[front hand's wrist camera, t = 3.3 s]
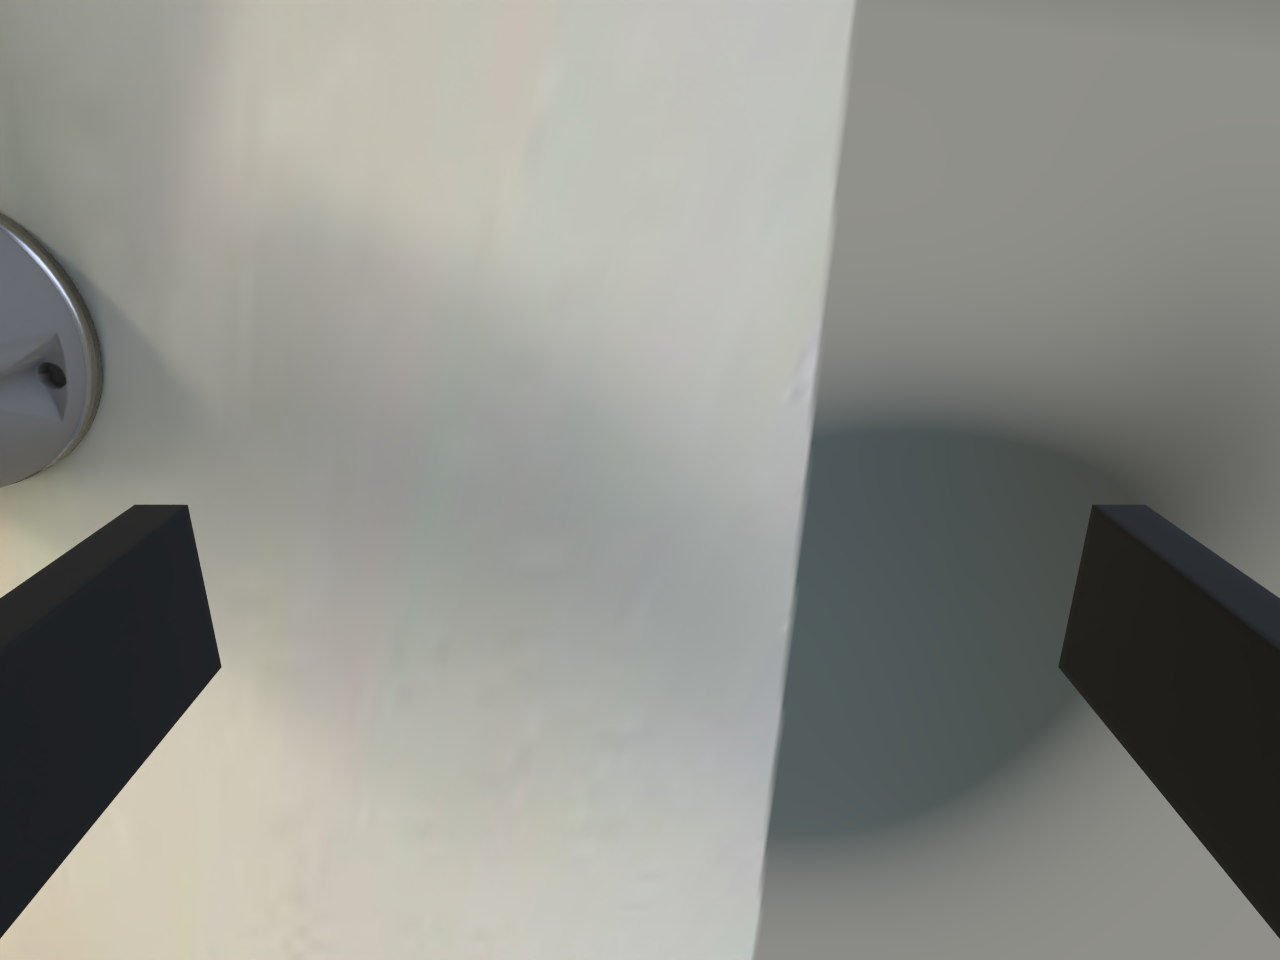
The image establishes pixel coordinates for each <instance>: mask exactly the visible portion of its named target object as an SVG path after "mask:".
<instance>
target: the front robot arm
mask: <svg viewBox="0 0 1280 960" xmlns="http://www.w3.org/2000/svg"><path fill="white" fill-rule="evenodd" d="M101 389H102V358H101V351H100V346H99V341H98V337H97V334H96V330H95V327H94V324H93V321H92V319H91V316H90V314H89V311H88V309H87V307H86V305H85V303H84V301H83V299H82V297H81V295H80V294H79V292H78V290H77V289H76V287H75V285H74V284H73V282H72V281H71V279H70V278H69V276H68V275H67V274H66V272H65V271H64V269H63V268H62V267H61V266H60V265H59V263H58V262H57V261H56V260H55V259H54V257H53V256H52V255H51V254H50V253H49V252H48V251H47V250H46V249H45V248H44V247H43V246H42V245H41V244H40V243H39V242H38V241H37V240H36V239H35V238H33V237H32V236H31V235H30V234H29V233H28V232H26V231H25V230H24V229H23V228H21V227H20V226H19V225H17V224H16V223H14V222H13V221H12V220H10V219H9V218H7V217H5V216H4V215H2V214H1V213H0V487H3V486H6V485H9V484H13V483H16V482H19V481H22V480H24V479H27V478H29V477H31V476H33V475H35V474H37V473H39V472H40V471H42V470H44V469H46V468H48V467H50V466H52V465H54V464H55V463H57V462H58V461H60V460H61V459H63V458H64V457H65V456H66V455H67V454H69V453H70V452H71V451H72V450H73V449H74V448H75V447H76V446H77V445H78V443H79V442H80V441H81V440H82V439H83V437H84V436H85V434H86V433H87V431H88V429H89V427H90V426H91V424H92V422H93V420H94V417H95V414H96V411H97V409H98V405H99V401H100V397H101ZM220 668H221V662H220V658H219V653H218V648H217V643H216V639H215V634H214V629H213V624H212V619H211V615H210V610H209V605H208V600H207V595H206V591H205V586H204V581H203V576H202V572H201V567H200V562H199V557H198V552H197V548H196V543H195V538H194V533H193V528H192V524H191V519H190V514H189V509H188V505H134V506H132V507H131V508H129V509H128V510H127V511H125V512H124V513H122V514H121V515H119V516H118V517H117V518H115V519H114V520H112V521H111V522H109V523H108V524H107V525H105V526H104V527H102V528H101V529H99V530H98V531H96V532H95V533H94V534H92V535H91V536H89V537H88V538H86V539H85V540H84V541H82V542H81V543H79V544H78V545H76V546H75V547H73V548H72V549H71V550H69V551H68V552H66V553H65V554H63V555H62V556H61V557H59V558H58V559H56V560H55V561H53V562H52V563H50V564H49V565H48V566H46V567H45V568H43V569H42V570H40V571H39V572H38V573H36V574H35V575H33V576H32V577H30V578H29V579H27V580H26V581H25V582H23V583H22V584H20V585H19V586H17V587H16V588H15V589H13V590H12V591H10V592H9V593H7V594H6V595H5V596H3V597H2V598H0V938H1V937H2V936H3V935H4V933H5V932H6V931H7V930H8V928H9V927H10V926H11V925H12V924H13V922H14V921H15V920H16V919H17V917H18V916H19V915H20V914H21V912H22V911H23V910H24V909H25V908H26V906H27V905H28V904H29V903H30V901H31V900H32V899H33V898H34V897H35V895H36V894H37V893H38V892H39V890H40V889H41V888H42V887H43V885H44V884H45V883H46V882H47V881H48V879H49V878H50V877H51V876H52V874H53V873H54V872H55V871H56V869H57V868H58V867H59V866H60V865H61V863H62V862H63V861H64V860H65V858H66V857H67V856H68V855H69V854H70V852H71V851H72V850H73V849H74V847H75V846H76V845H77V844H78V842H79V841H80V840H81V839H82V838H83V836H84V835H85V834H86V833H87V831H88V830H89V829H90V828H91V827H92V825H93V824H94V823H95V822H96V820H97V819H98V818H99V817H100V815H101V814H102V813H103V812H104V811H105V809H106V808H107V807H108V806H109V804H110V803H111V802H112V801H113V800H114V798H115V797H116V796H117V795H118V793H119V792H120V791H121V790H122V788H123V787H124V786H125V785H126V784H127V782H128V781H129V780H130V779H131V777H132V776H133V775H134V774H135V773H136V771H137V770H138V769H139V768H140V766H141V765H142V764H143V763H144V761H145V760H146V759H147V758H148V757H149V755H150V754H151V753H152V752H153V750H154V749H155V748H156V747H157V745H158V744H159V743H160V742H161V741H162V739H163V738H164V737H165V736H166V734H167V733H168V732H169V731H170V730H171V728H172V727H173V726H174V725H175V723H176V722H177V721H178V720H179V718H180V717H181V716H182V715H183V714H184V712H185V711H186V710H187V709H188V707H189V706H190V705H191V704H192V703H193V701H194V700H195V699H196V698H197V696H198V695H199V694H200V693H201V691H202V690H203V689H204V688H205V687H206V685H207V684H208V683H209V682H210V680H211V679H212V678H213V677H214V676H215V674H216V673H217V672H218V671H219V669H220ZM1059 668H1060V669H1061V671H1062V672H1063V673H1064V674H1065V676H1066V677H1067V678H1068V679H1069V680H1070V682H1071V683H1072V684H1073V685H1074V687H1075V688H1076V689H1077V690H1078V691H1079V693H1080V694H1081V695H1082V696H1083V698H1084V699H1085V700H1086V701H1087V703H1088V704H1089V705H1090V706H1091V707H1092V709H1093V710H1094V711H1095V712H1096V714H1097V715H1098V716H1099V717H1100V718H1101V720H1102V721H1103V722H1104V723H1105V725H1106V726H1107V727H1108V728H1109V730H1110V731H1111V732H1112V733H1113V734H1114V736H1115V737H1116V738H1117V739H1118V741H1119V742H1120V743H1121V744H1122V745H1123V747H1124V748H1125V749H1126V750H1127V752H1128V753H1129V754H1130V755H1131V757H1132V758H1133V759H1134V760H1135V761H1136V763H1137V764H1138V765H1139V766H1140V768H1141V769H1142V770H1143V771H1144V772H1145V774H1146V775H1147V776H1148V777H1149V779H1150V780H1151V781H1152V782H1153V784H1154V785H1155V786H1156V787H1157V788H1158V790H1159V791H1160V792H1161V793H1162V795H1163V796H1164V797H1165V798H1166V800H1167V801H1168V802H1169V803H1170V804H1171V806H1172V807H1173V808H1174V809H1175V811H1176V812H1177V813H1178V814H1179V815H1180V817H1181V818H1182V819H1183V820H1184V822H1185V823H1186V824H1187V825H1188V827H1189V828H1190V829H1191V830H1192V831H1193V833H1194V834H1195V835H1196V836H1197V837H1198V839H1199V840H1200V841H1201V842H1202V844H1203V845H1204V846H1205V847H1206V849H1207V850H1208V851H1209V852H1210V853H1211V855H1212V856H1213V857H1214V858H1215V860H1216V861H1217V862H1218V863H1219V865H1220V866H1221V867H1222V868H1223V869H1224V871H1225V872H1226V873H1227V874H1228V876H1229V877H1230V878H1231V879H1232V881H1233V882H1234V883H1235V884H1236V885H1237V887H1238V888H1239V889H1240V890H1241V892H1242V893H1243V894H1244V895H1245V897H1246V898H1247V899H1248V900H1249V901H1250V903H1251V904H1252V905H1253V906H1254V908H1255V909H1256V910H1257V911H1258V912H1259V914H1260V915H1261V916H1262V917H1263V919H1264V920H1265V921H1266V922H1267V924H1268V925H1269V926H1270V927H1271V928H1272V930H1273V931H1274V932H1275V933H1276V935H1277V936H1278V937H1279V938H1280V598H1278V597H1277V596H1275V595H1274V594H1273V593H1271V592H1270V591H1268V590H1267V589H1265V588H1264V587H1263V586H1261V585H1260V584H1258V583H1257V582H1255V581H1254V580H1253V579H1251V578H1250V577H1248V576H1247V575H1245V574H1244V573H1242V572H1241V571H1240V570H1238V569H1237V568H1235V567H1234V566H1232V565H1231V564H1229V563H1228V562H1227V561H1225V560H1224V559H1222V558H1221V557H1219V556H1218V555H1217V554H1215V553H1214V552H1212V551H1211V550H1209V549H1208V548H1207V547H1205V546H1204V545H1202V544H1201V543H1199V542H1198V541H1196V540H1195V539H1194V538H1192V537H1191V536H1189V535H1188V534H1186V533H1185V532H1184V531H1182V530H1181V529H1179V528H1178V527H1176V526H1175V525H1173V524H1172V523H1171V522H1169V521H1168V520H1166V519H1165V518H1163V517H1162V516H1161V515H1159V514H1158V513H1156V512H1155V511H1153V510H1152V509H1151V508H1149V507H1148V506H1146V505H1092V509H1091V514H1090V519H1089V524H1088V529H1087V533H1086V538H1085V543H1084V548H1083V552H1082V557H1081V562H1080V567H1079V571H1078V576H1077V581H1076V586H1075V591H1074V596H1073V600H1072V605H1071V610H1070V615H1069V620H1068V624H1067V629H1066V634H1065V639H1064V643H1063V648H1062V653H1061V658H1060V662H1059Z"/></svg>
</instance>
